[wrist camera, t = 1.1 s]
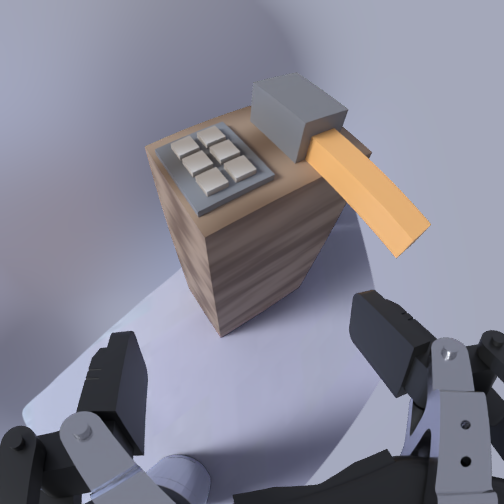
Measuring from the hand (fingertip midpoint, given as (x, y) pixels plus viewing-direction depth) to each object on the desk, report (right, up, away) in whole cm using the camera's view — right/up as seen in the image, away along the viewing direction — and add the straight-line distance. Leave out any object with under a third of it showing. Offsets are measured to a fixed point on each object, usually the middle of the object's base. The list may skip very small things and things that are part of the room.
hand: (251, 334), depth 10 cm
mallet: (+6, +9, +11) cm, 16 cm away
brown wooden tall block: (-1, -3, +41) cm, 41 cm away
